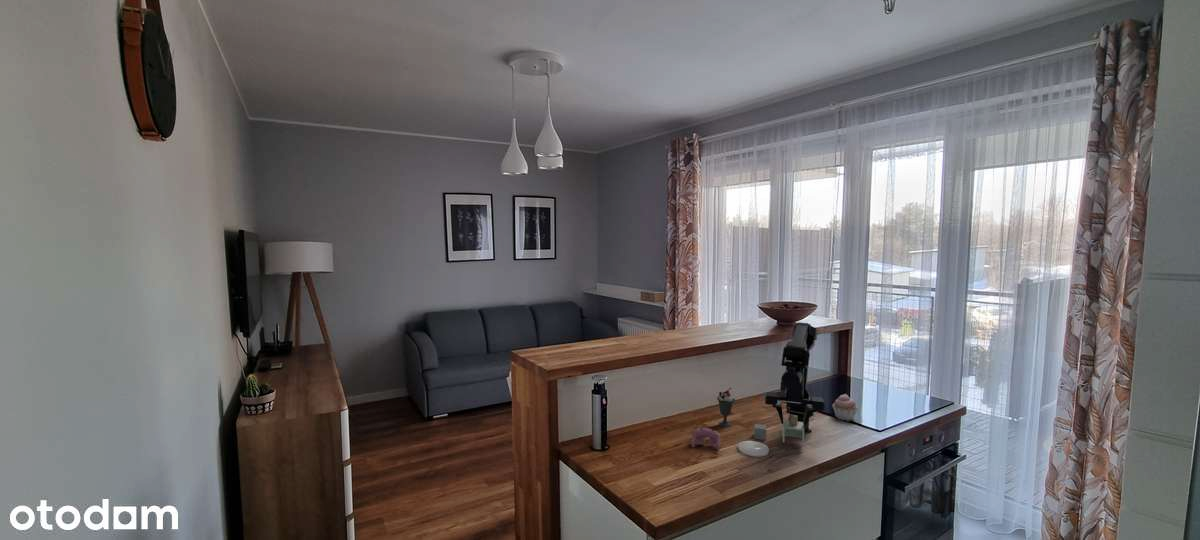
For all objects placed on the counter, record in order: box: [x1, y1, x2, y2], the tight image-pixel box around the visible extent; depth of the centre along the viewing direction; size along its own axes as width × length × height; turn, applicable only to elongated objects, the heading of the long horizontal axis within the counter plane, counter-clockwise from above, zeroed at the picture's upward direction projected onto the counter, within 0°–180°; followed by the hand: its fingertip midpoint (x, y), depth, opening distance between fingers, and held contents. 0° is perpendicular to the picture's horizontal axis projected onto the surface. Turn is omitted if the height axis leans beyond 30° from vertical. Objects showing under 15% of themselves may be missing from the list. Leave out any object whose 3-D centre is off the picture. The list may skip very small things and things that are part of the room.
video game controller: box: [691, 427, 722, 452], centre depth 163 cm, size 10×5×7 cm, turn 71°
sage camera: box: [781, 415, 805, 446], centre depth 163 cm, size 7×7×8 cm
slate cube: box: [753, 423, 767, 441], centre depth 170 cm, size 4×4×4 cm
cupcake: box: [831, 393, 859, 422], centre depth 188 cm, size 9×9×10 cm
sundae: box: [716, 387, 736, 428], centre depth 181 cm, size 7×7×15 cm
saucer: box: [737, 440, 770, 458], centre depth 160 cm, size 10×10×1 cm
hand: (793, 425), depth 163 cm, fingers closed on sage camera, 7 cm apart
